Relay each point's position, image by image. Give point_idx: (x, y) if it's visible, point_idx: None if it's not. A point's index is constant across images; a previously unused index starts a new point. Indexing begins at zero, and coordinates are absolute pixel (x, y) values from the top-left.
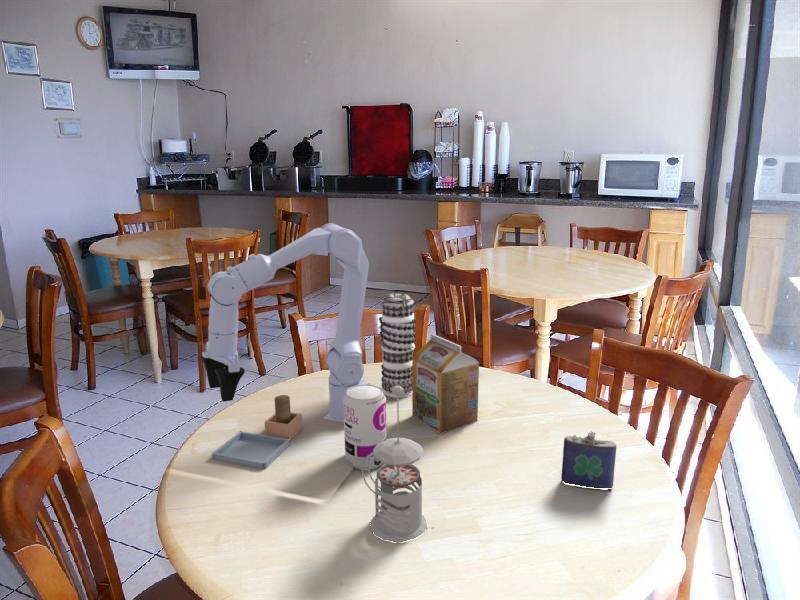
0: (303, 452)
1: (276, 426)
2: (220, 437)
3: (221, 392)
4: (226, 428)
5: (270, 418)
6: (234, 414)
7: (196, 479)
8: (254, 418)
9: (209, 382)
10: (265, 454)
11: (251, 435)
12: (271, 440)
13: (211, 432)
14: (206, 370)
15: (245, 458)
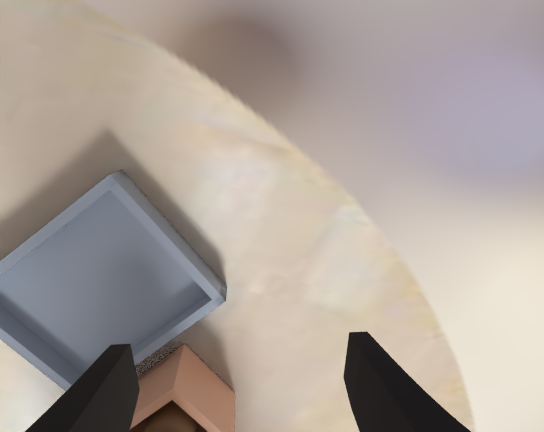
0: (47, 400)
1: (138, 405)
2: (271, 237)
3: (66, 394)
4: (319, 269)
5: (186, 409)
6: (392, 314)
7: (23, 85)
8: (328, 353)
9: (366, 357)
10: (64, 317)
11: (182, 319)
12: None
13: (322, 224)
14: (451, 429)
15: (16, 259)
